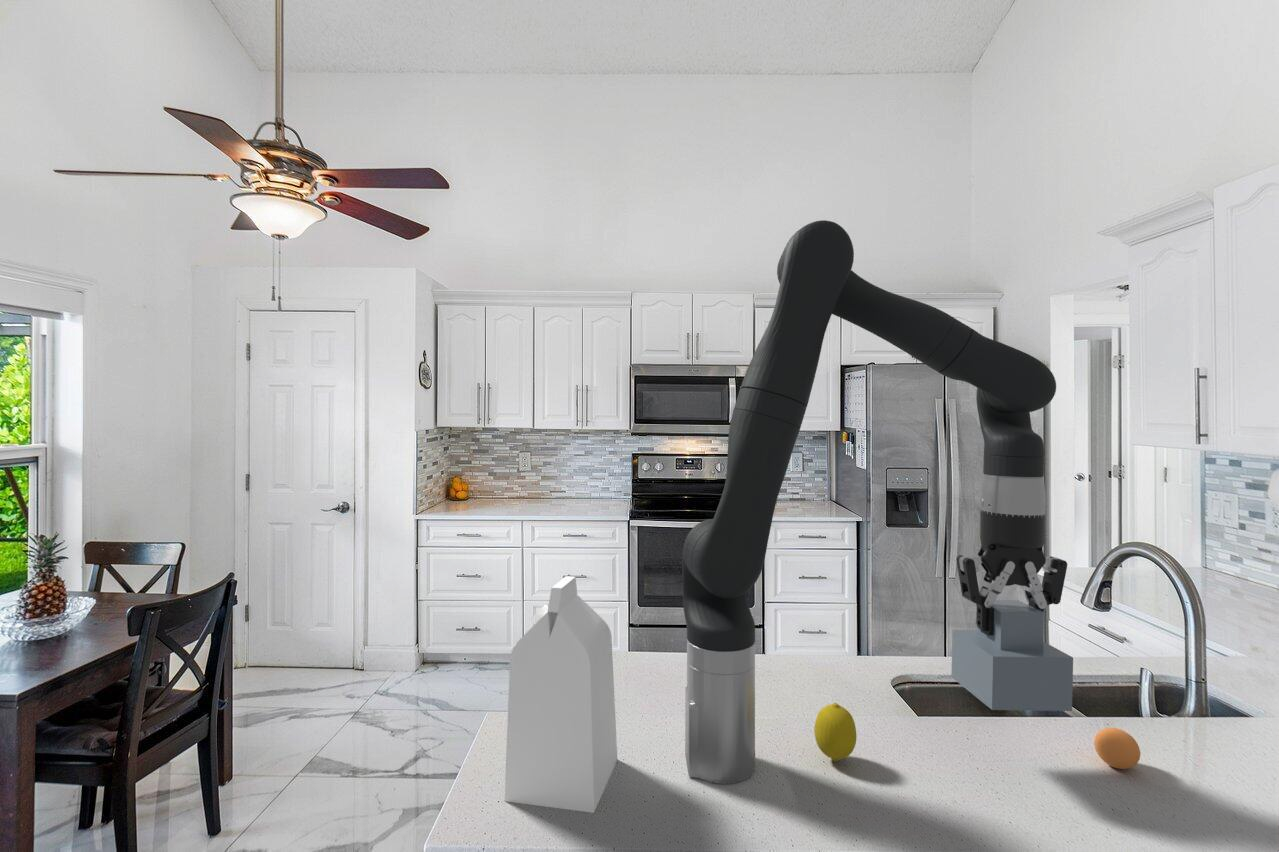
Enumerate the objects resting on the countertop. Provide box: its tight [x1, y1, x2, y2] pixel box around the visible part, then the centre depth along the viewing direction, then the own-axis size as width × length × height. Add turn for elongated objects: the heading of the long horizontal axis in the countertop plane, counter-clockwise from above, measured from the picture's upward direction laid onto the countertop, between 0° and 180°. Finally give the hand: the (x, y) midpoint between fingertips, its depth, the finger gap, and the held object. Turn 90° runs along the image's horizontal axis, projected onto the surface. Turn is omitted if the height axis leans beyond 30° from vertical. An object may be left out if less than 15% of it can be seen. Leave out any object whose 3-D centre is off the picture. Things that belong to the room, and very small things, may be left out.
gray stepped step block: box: [950, 599, 1074, 712], centre depth 84 cm, size 10×10×12 cm
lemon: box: [814, 702, 857, 763], centre depth 87 cm, size 6×6×8 cm
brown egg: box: [1093, 727, 1141, 770], centre depth 85 cm, size 5×5×5 cm
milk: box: [503, 575, 618, 814], centre depth 82 cm, size 12×12×26 cm
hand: (1009, 633), depth 84 cm, fingers closed on gray stepped step block, 5 cm apart
